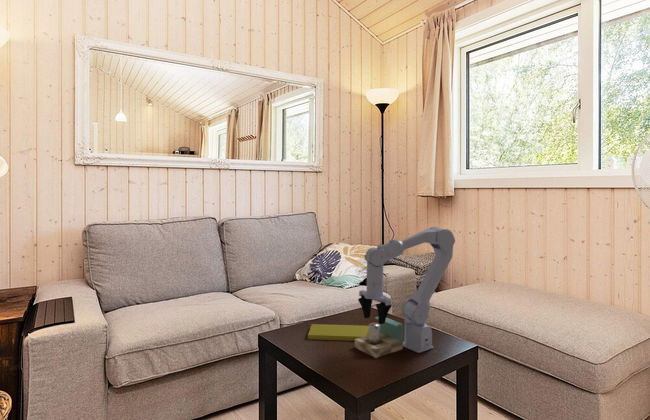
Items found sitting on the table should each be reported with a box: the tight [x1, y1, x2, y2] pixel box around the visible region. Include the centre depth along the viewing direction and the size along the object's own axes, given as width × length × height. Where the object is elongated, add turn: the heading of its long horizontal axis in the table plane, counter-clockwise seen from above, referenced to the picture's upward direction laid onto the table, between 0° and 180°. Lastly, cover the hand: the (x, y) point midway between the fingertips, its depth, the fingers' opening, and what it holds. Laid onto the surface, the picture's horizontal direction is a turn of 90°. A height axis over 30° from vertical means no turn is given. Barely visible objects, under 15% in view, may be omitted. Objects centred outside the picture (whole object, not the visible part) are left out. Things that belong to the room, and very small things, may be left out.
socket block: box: [354, 332, 404, 359], centre depth 142 cm, size 11×13×3 cm
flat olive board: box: [307, 323, 369, 342], centre depth 155 cm, size 12×2×24 cm
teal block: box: [374, 316, 404, 342], centre depth 144 cm, size 11×4×6 cm, turn 35°
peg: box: [368, 322, 380, 345], centre depth 140 cm, size 4×4×9 cm
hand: (374, 320), depth 140 cm, fingers open, 7 cm apart
